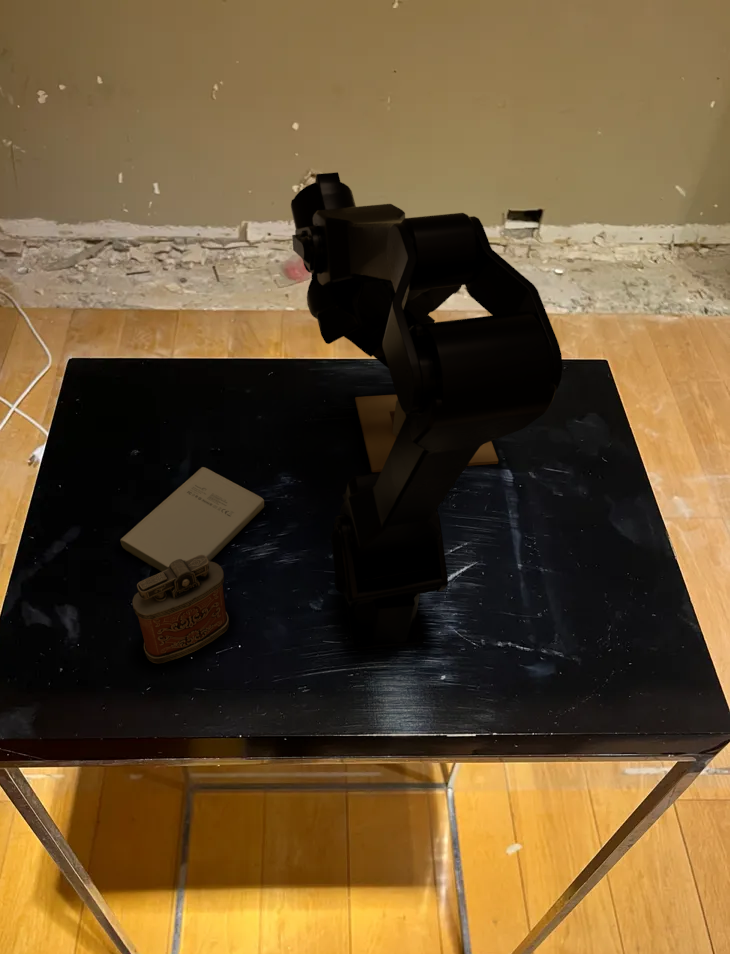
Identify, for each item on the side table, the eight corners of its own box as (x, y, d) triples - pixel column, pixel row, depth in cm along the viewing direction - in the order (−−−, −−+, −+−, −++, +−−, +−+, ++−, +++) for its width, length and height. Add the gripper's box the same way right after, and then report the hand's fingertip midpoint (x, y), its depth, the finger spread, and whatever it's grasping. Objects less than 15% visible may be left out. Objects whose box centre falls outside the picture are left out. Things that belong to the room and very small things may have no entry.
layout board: (497, 463, 90) (498, 459, 90) (371, 472, 89) (372, 468, 88) (471, 393, 98) (472, 389, 97) (355, 400, 96) (355, 396, 96)
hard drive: (122, 549, 81) (203, 475, 88) (186, 587, 78) (264, 508, 85) (119, 538, 80) (201, 464, 87) (184, 577, 77) (264, 497, 84)
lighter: (218, 605, 77) (209, 535, 69) (235, 630, 75) (229, 562, 68) (138, 643, 74) (120, 575, 66) (154, 671, 72) (138, 604, 65)
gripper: (493, 281, 67) (553, 346, 80) (351, 187, 76) (426, 259, 89) (409, 393, 70) (481, 438, 83) (282, 289, 79) (364, 344, 92)
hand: (437, 365), depth 87 cm, fingers open, 9 cm apart
